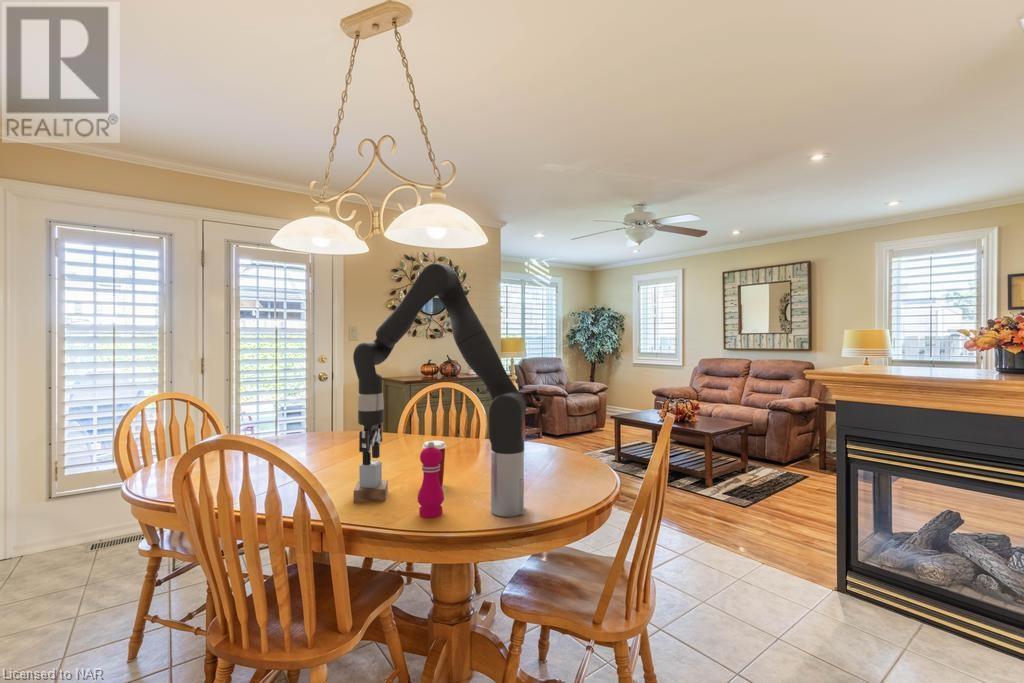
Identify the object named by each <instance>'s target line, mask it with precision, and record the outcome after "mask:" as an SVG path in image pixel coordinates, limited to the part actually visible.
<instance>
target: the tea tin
mask: <svg viewBox="0 0 1024 683" xmlns="http://www.w3.org/2000/svg"><path fill="white" fill-rule="evenodd" d="M382 463H383V462H382V461H381V460H380V459H377V460H376V459H375V460H374V459H373V460H372V459H371V464H370V465H363V462H361V463H360V465H359V468H358V469H359V471H358V472H359V475H358V476H359V487H365V488H376V487H377V486H378V485H380V484H381V483H382V480H383V479H382V475H383V471H382V466H383V465H382Z"/></svg>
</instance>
